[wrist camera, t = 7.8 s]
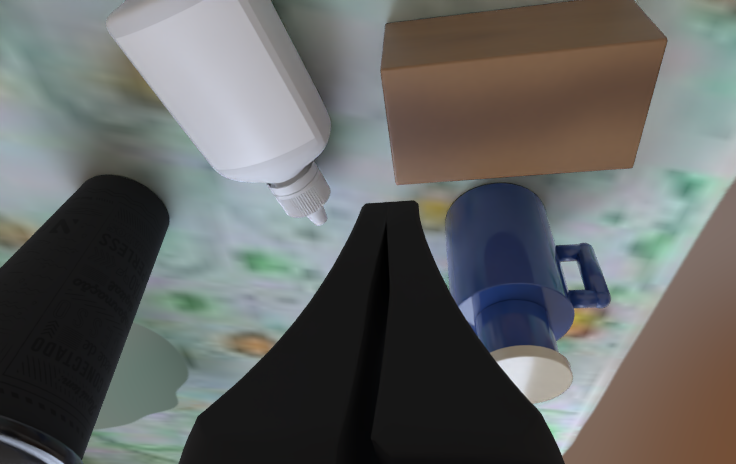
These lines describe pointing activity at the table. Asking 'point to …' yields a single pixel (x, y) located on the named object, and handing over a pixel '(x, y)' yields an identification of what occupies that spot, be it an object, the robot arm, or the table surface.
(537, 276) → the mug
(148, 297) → the table surface
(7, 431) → the drinking cup
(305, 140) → the eye dropper bottle
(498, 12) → the oak block
